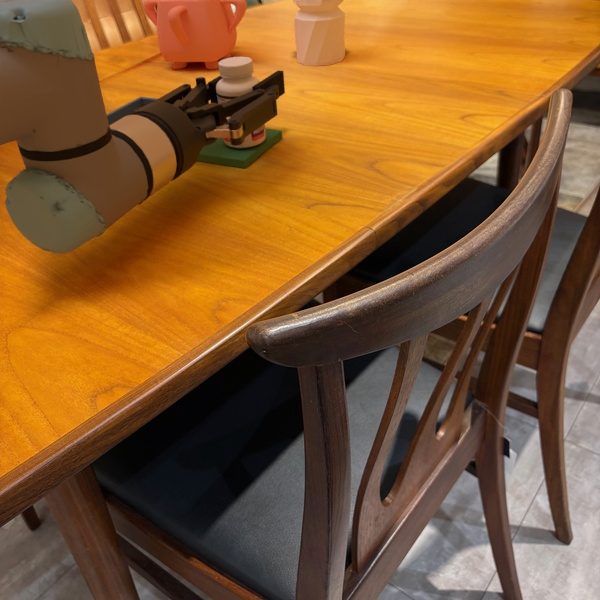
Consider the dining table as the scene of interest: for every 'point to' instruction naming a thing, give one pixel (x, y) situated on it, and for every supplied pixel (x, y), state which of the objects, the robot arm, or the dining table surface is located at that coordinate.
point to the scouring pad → (237, 151)
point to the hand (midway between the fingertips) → (259, 79)
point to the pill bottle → (238, 91)
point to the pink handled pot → (195, 29)
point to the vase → (319, 32)
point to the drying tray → (128, 109)
